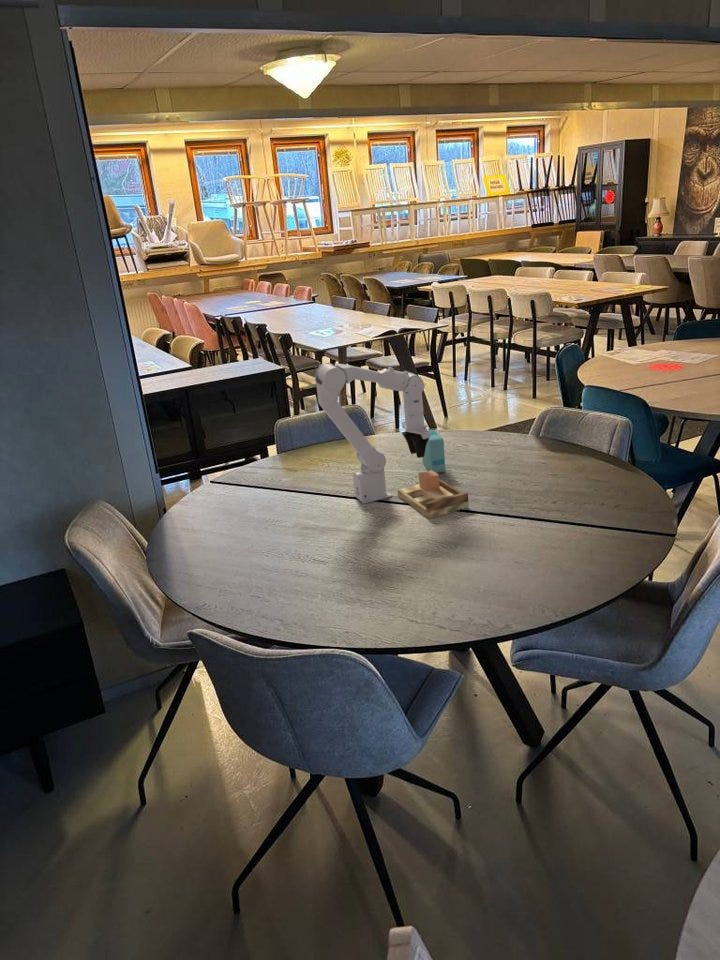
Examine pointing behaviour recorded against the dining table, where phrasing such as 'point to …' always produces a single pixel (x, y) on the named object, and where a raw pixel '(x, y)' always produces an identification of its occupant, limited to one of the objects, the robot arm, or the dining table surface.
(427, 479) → the block
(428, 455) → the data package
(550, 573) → the dining table surface
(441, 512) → the trap board
